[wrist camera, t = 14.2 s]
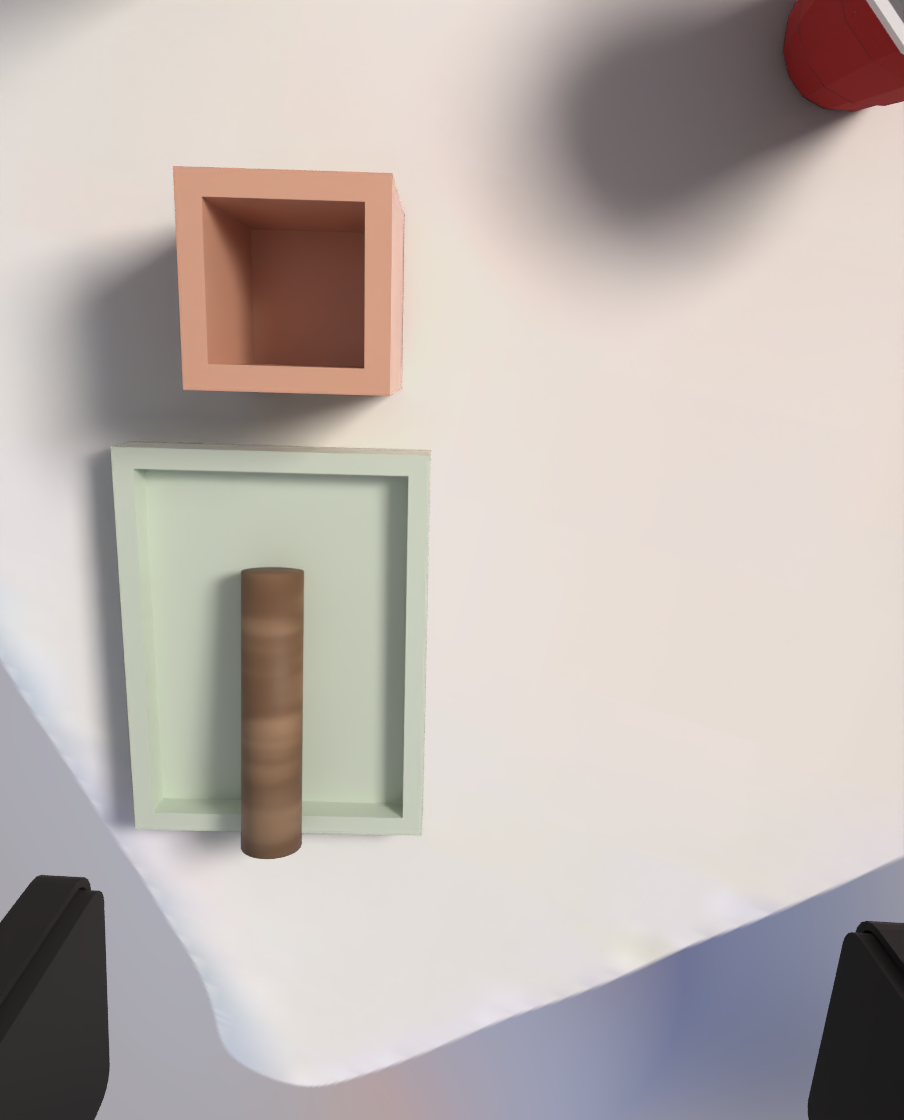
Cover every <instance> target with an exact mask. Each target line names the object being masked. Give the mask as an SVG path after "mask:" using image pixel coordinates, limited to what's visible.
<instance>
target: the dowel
mask: <svg viewBox="0 0 904 1120" xmlns="http://www.w3.org/2000/svg"><path fill="white" fill-rule="evenodd" d="M303 636H304V571H303V570H301V569H296V568H286V567H259V568H249V569H244V570H242V571H241V850H242V851H243V853H245V854H246V855H248V856H250V857H254V858H259V859H275V858H281V857H285V856H288V855H291V854H293V853H295V852H296V851H297V850H299V848H300V847H301V844H302V744H303Z"/></svg>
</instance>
